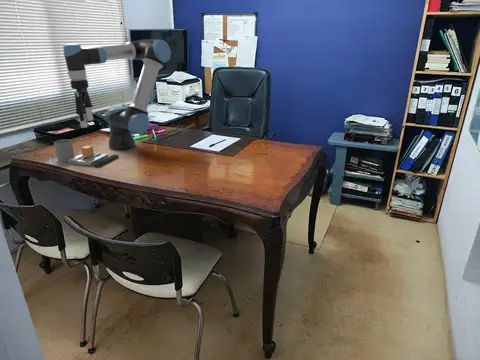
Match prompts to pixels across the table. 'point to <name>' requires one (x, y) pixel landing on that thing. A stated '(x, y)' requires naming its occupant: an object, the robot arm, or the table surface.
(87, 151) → the tan wooden block
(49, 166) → the table surface
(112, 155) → the black bar
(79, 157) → the panel
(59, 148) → the cup
